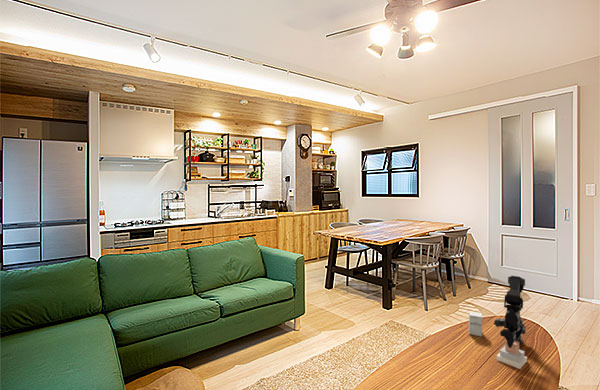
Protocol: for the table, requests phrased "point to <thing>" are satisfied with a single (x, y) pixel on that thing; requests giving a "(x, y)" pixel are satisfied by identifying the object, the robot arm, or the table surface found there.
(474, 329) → the supplement box
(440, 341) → the table surface
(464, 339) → the table surface
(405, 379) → the table surface
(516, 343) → the cube
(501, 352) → the tower top
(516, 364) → the tower base
